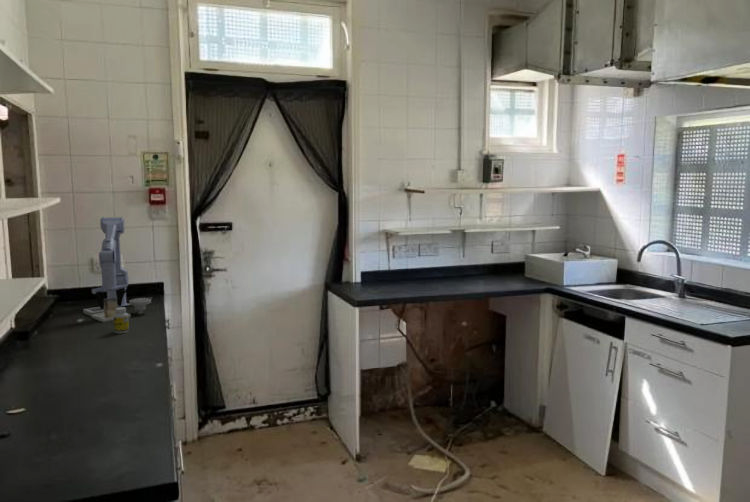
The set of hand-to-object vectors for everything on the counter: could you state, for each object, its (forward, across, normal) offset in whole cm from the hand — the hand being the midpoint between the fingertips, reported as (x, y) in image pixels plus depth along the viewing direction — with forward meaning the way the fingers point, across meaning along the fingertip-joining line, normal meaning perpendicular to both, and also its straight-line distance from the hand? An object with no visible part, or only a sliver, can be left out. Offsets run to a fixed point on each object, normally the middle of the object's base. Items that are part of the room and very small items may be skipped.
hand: (110, 307), depth 253 cm
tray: (+5, 0, 0) cm, 5 cm away
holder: (+5, 0, +14) cm, 14 cm away
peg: (+4, 0, 0) cm, 4 cm away
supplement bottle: (+5, -7, -26) cm, 28 cm away
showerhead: (+5, +13, -2) cm, 14 cm away
